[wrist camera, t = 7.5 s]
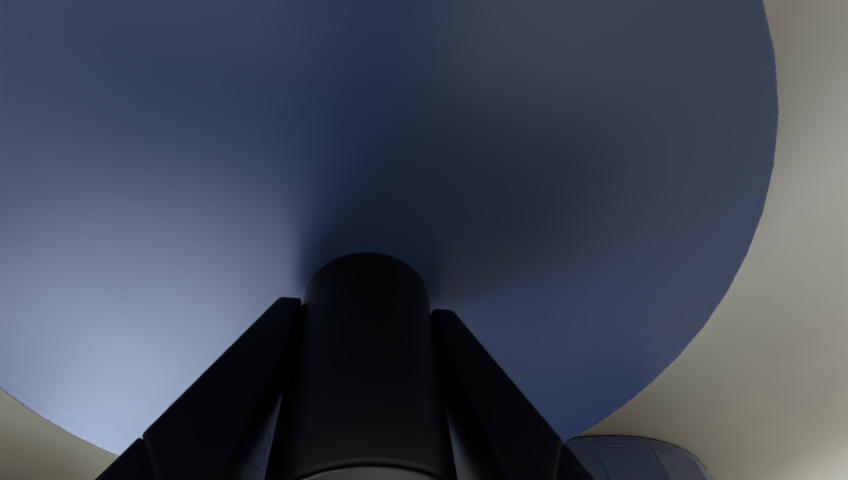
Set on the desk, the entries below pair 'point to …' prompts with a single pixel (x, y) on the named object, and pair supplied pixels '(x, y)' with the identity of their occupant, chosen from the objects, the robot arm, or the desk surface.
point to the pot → (636, 459)
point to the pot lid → (370, 204)
